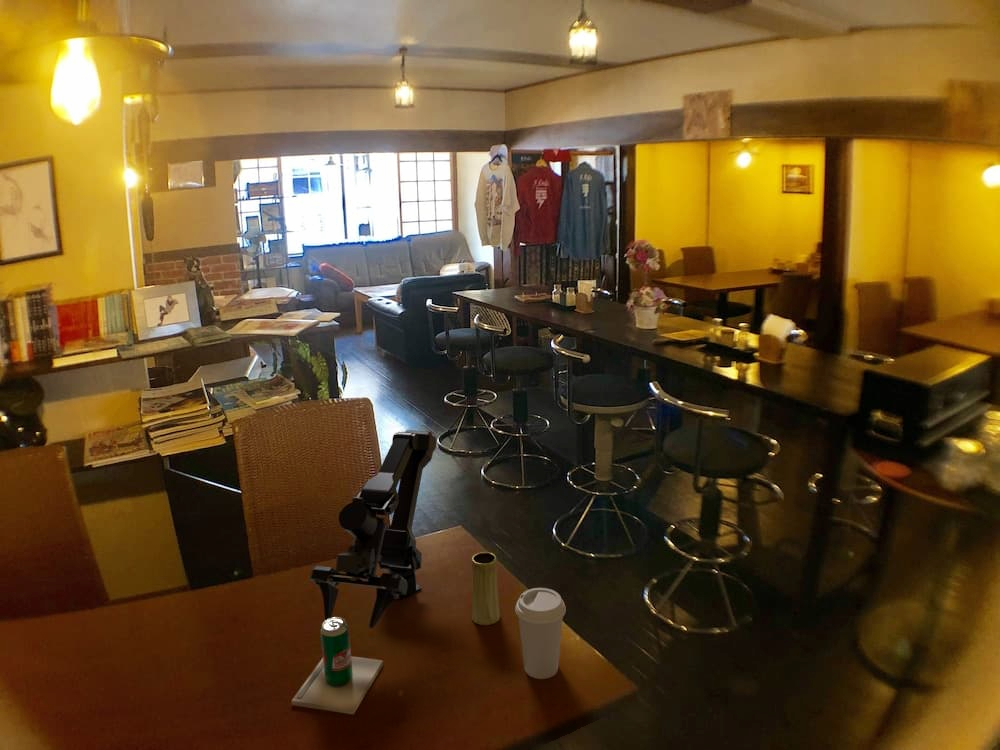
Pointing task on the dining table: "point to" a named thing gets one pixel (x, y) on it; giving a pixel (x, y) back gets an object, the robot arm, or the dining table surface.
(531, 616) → the coffee cup
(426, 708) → the dining table surface
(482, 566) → the vase
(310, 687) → the white rectangular tray
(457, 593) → the dining table surface
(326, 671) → the soda can
